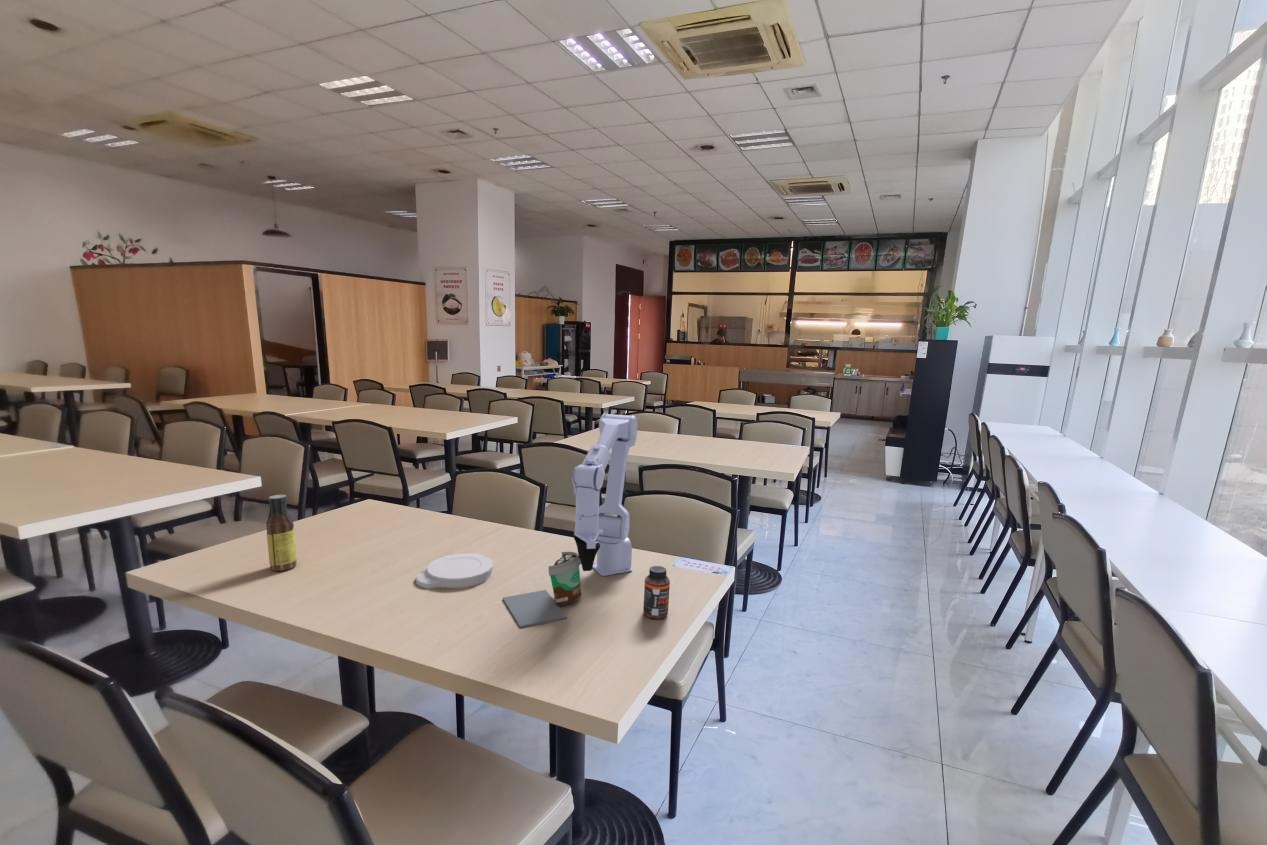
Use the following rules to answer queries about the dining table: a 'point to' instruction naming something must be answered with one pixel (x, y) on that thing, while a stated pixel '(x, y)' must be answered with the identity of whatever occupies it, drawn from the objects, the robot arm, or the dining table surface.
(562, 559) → the food container
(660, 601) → the supplement bottle
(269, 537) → the sauce bottle
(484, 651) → the dining table surface
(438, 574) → the lid
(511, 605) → the mat
